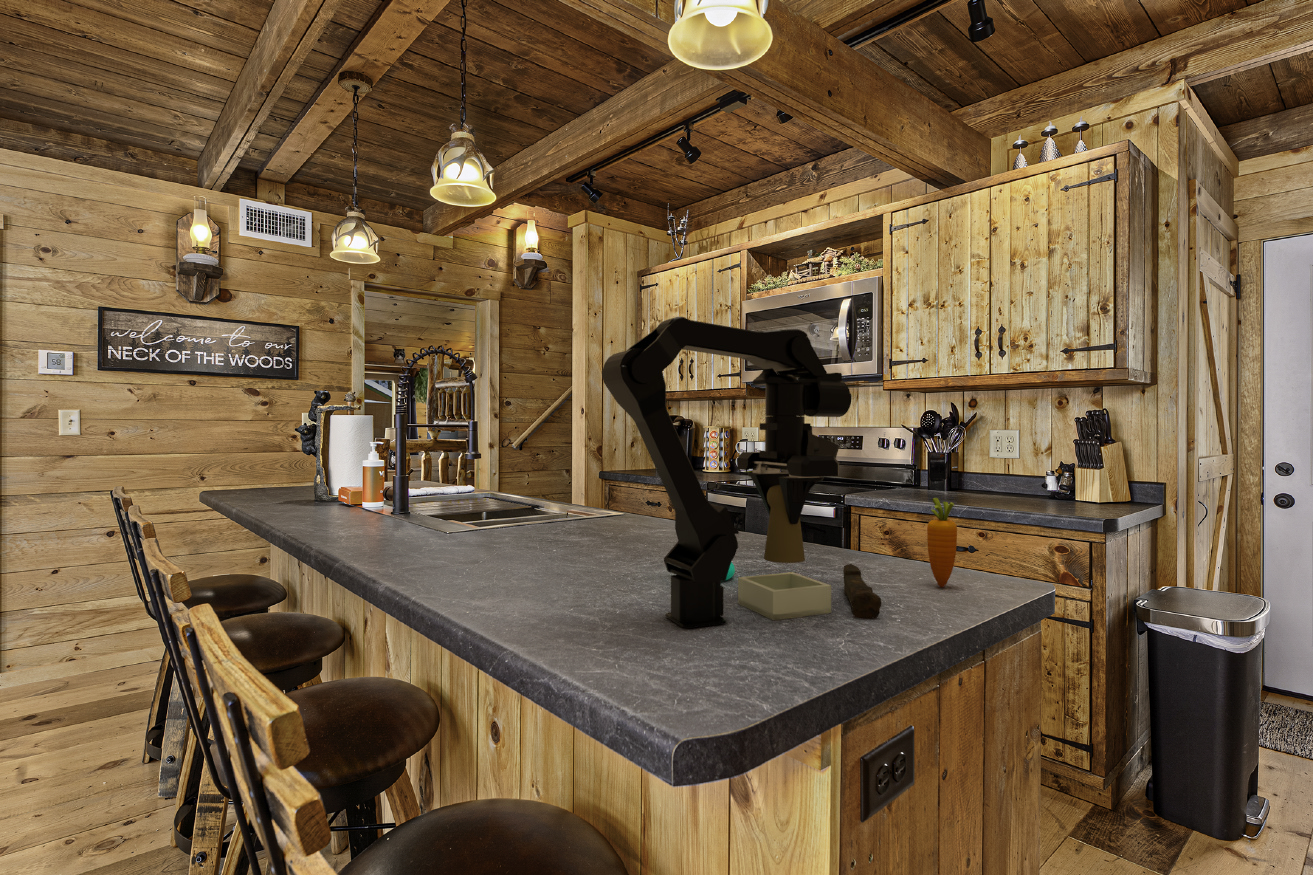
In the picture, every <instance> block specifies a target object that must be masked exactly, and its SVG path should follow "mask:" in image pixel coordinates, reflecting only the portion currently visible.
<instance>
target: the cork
mask: <svg viewBox="0 0 1313 875" xmlns="http://www.w3.org/2000/svg"><path fill="white" fill-rule="evenodd" d="M767 501H768V504H769V505H770V507H771V509H770V515H769V518H768V525H767V533H766V540H765V548H764V555H763V559H764V560H765V561H767V562H771V563H780V564H796V563H797V564H798V563H802V562H805V561H806V555H805V549H804V541H803V540H804V539H803V533H802V526H801V517H800V518H799V521H798V523H797V524H790V522H789V519H788V516H787V512H786V507H785V503H784V499H783V495H782V490H781V486H780V485H775V486H772V487H770V489H769V490H768V493H767Z"/></svg>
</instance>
